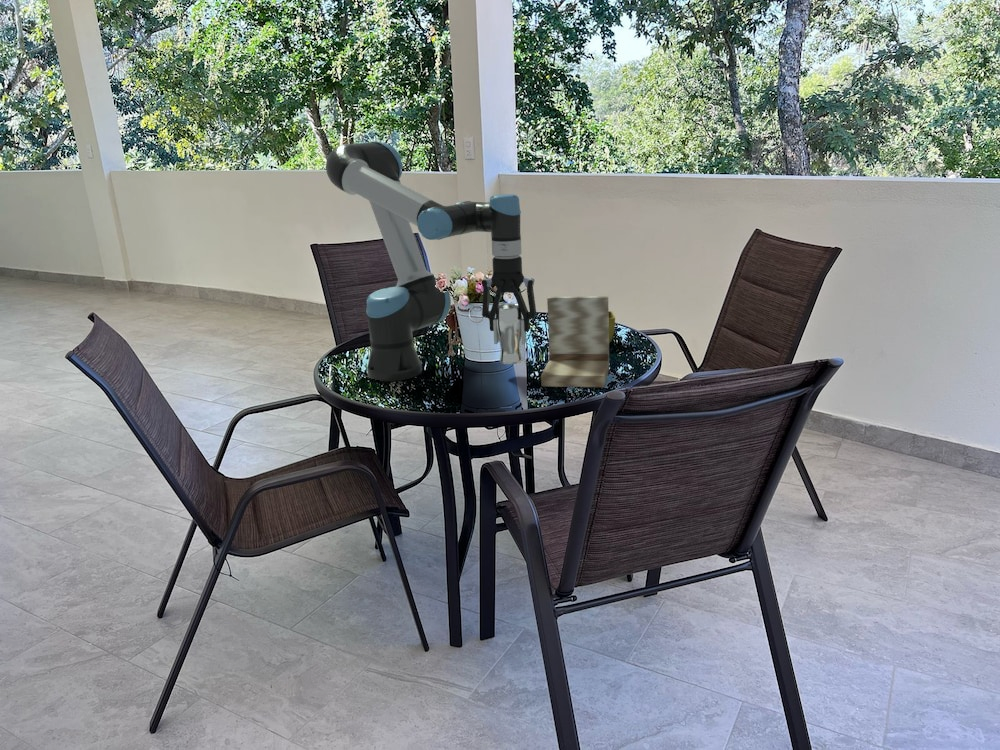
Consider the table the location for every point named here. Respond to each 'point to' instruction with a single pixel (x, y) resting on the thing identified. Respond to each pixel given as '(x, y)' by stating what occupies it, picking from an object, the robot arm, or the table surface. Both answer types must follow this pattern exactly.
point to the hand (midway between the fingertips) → (510, 342)
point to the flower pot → (611, 325)
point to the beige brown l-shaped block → (577, 342)
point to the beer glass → (509, 332)
